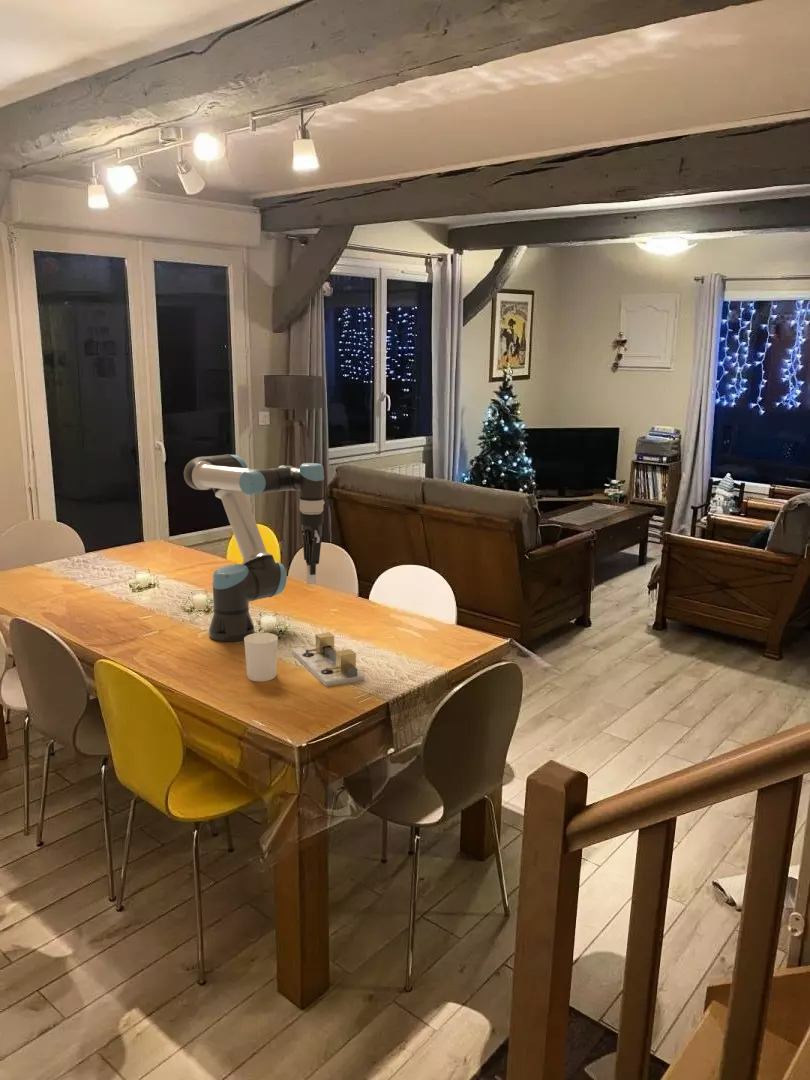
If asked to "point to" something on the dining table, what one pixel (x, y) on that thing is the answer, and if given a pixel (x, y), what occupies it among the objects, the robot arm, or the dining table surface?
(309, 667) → the bolt plate
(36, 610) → the dining table surface
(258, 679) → the candle holder
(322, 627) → the dining table surface
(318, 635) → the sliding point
